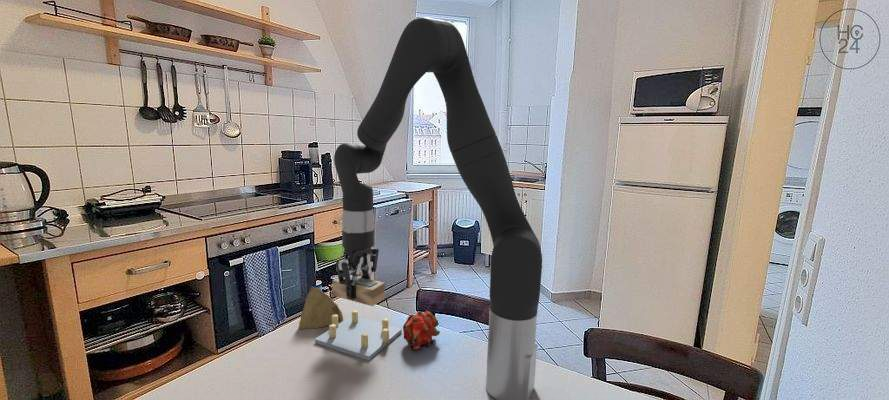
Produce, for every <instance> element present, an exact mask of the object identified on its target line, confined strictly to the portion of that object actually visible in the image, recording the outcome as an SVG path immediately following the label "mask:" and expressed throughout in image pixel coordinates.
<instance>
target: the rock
mask: <svg viewBox="0 0 889 400" xmlns="http://www.w3.org/2000/svg"><path fill="white" fill-rule="evenodd" d="M335 314H337V315H338V324H339V323H341V322H342V321H344V316H343V315H344V314H343V312H342V311H341V309H340V308H339V305H338V304H337V303H336V302H335V301H334V299H332V297H330V295H328V294H326V293H325V292H324V291H322V289H320V288H319V287H317V286H315V287H314V286H311V287H310V289H309V292H308V293H307V296H306V298H305V302H304V305H303V309H302V311H301V314H300V319H299V323H298V327H297V329H298V330H303V329H308V330H309V329H318V328H319V329H320V328H323V327H327V326H328V327H329V325H331V324H332V315H335Z"/></svg>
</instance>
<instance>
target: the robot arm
mask: <svg viewBox="0 0 889 400" xmlns="http://www.w3.org/2000/svg"><path fill="white" fill-rule="evenodd" d="M470 63H471V62H470V60H469V57H468V52H467V49H466V46H465V42H464V40H463V36H462V35H461V33H460V31H459V30H458V28H457V27H456V26H455V25H454V24H453V23H451V22H449V21H447V20H444V19H438V18H431V17H428V16H427V17H425V16H424V17H422V16H421V17H415V18H414V19H412V20H411V21H409V23H407V25H406V26H405V27H404V29H403V31H402V32H401V35H400V37H399V39H398V41H397V44H396V47H395V49H394V52H393V55H392V58H391V60H390V63H389V65H388V68H387V71H386V73H385V76H384V78H383V80H382V83H381V85H380V87H379V91H378V93H377V95H376V97H375V99H374V100H373V103H372V104H371V106H370V107H369V109H368V110H367V112H366V114H365V115H364V117H363V119H362V120H361V122H360V124H359V125H358V128H357V132H356V134H357V135H356V136H357V138H358V140H359V141H360V142H344V143H340V144H339V146H337V148H336V149H335V152H334V155H333V162H334V166H335V170H336V174H337V177H338V179H339V184H340V188H341V191H342V213H341V214H342V216H341V242H342V244H341V245H342V246H341V247H343V249H344V251H345V254H344V258H343V259H342V260H340V261H339V260H336V262H335V269H336V275H337V278H338V279H339V283H340V284H344V285H346V296H347V298H348V299H351V300H354V299H356V285H355V284H356V279H357V277H359V275H360V273H361V276H360V277H361V278H365V279H370V280H371V277H372V276H373V273H376V271H377V268H378V266H377V265H378V261H379V260H378V259H379V251H380V250H379V248H375V247H374V246H375V213H374V190H373V187H372V186H371V185H370V184H368V183H365V182H360V180H359V177H358V175H359V174H369V173H372V172H373V173H374V171H376V170H377V169H378V168H379V167H380V166H381V164H382V163H383V162H382V161H383V159H384V158H383V157H384V156H385V155H384V154H385V152H386V148H387V145H388V142H390V140H391V138H392V137H393V136H394V134H395V132H396V131H397V130H398V128H399V126H400V124H401V123H402V120H403V118H404V115H405V108H406V103H407V99H408V97H409V94H410V93H411V91H412V90H413V88H414V86H415V85H416V84H417V83H418V81H420V79H422V77H423V76H424V75H425V74H427V73H433V75H434V77H435V79H436V82H437V83H438V85H439V88H440V90H441V93H442V96H443V98H444V103H445V109H446V112H445V113H446V140H447V145H448V146H447V147H448V148H449V151H450V153H451V156H452V159H453V161H454V164H455V166H456V168H457V171H458V174H459V175H460V177H461V179H462V181H463V183H464V185H465V186H466V187H467V190H468V191H469V192H470V193H471V195H472V197H473V198H474V199H475V201H476V203H477V204H478V206H479V207H480V210H481V211H482V214H483V217H484V218H485V219H484V220H485V221H486V224H487V227H488V230H489V233H490V234H489V235H490V237H491V241H492V245H493V247H492V251H491V258H490V259H491V260H490V275H489V276H490V279H489V315H488V316H489V318H488V336H487V353H486V355H487V357H486V373H485V374H486V375H485V381H486V382H485V388H486V391H487V393H488V395H489V396H491V397H492V398H493V399H494V400H530V399H531V397H532V393H533V390H535V389H534V388H535V381H536V380H535V378H536V366H537V364H536V363H537V353H538V352H537V350H538V345H537V344H536V336H537V335H536V334H537V324H538V323H537V322H538V321H537V319H538V311H539V310H538V309H539V303H540V294H541V283H542V282H541V281H542V273H543V254H542V248H541V243H540V241H539V239H538V237H537V235H536V234H535V232H534V230H533V229H532V227H531V225H530V223H529V221H528V219H527V217H526V215H525V213H524V211H523V209H522V207H521V206H520V203H519V200H518V197H517V196H516V195H517V194H516V191H515V188H514V183H513V180H512V176H511V172H510V169H509V165H508V162H507V159H506V157H505V154H504V151H503V148H502V146H501V143H500V140H499V138H498V135H497V134H496V130H495V128H494V126H493V124H492V122H491V119H490V117H489V114H488V112H487V109H486V106H485V104H484V101H483V99H482V97H481V93H480V92H479V90H478V87H477V83H476V81H475V80H476V79H475V77H474V73H473V71H472V66H471V64H470ZM350 275H352V280H350ZM344 278H345V279H344ZM351 300H350V301H351Z"/></svg>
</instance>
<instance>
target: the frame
mask: <svg viewBox="0 0 889 400" xmlns="http://www.w3.org/2000/svg"><path fill="white" fill-rule="evenodd" d="M344 279H345V278H344ZM350 280H352V275H350ZM355 285H356V299H354V300H351V299H348V298H347V296H346V285H344V284H340V283H339V279H338V277H337V278H334V279H332V296H333V297H337V298H340V299H345V300H348V301H352V302H355V303H359V304H363V305H365V306H370V307H374V306H375V305H377V304H379V303H380V302H382V301H383V300H384V299H385V298H386V282H382V281H379V280H378V281H377V280H374V279H371V278H370V279H365V278H361V276H357V279H356V284H355Z"/></svg>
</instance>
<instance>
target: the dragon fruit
mask: <svg viewBox="0 0 889 400" xmlns="http://www.w3.org/2000/svg"><path fill="white" fill-rule="evenodd" d="M438 326H439V321H438V319H437V317H436V316H435V315H434V314H433V313H432V312H431V311H428V310H426V311H424V312H422V311H419V310H417V312H416V314H414V315H413V314H410V315H408V317H407V318H406V321H405V323H404V324H403V326H402V331H403V340H405V341H406V343H407V344H408V345H409V347H410V351H413V349H414V350H420V349H422V348H423V345H426V346H427V347H429V346H433V345H434V344H435V343H436V341H437V340H436V339H435V338H434V339H433V337H437V336H439V335H440V333H441V332H440V330H438V329H437V327H438Z"/></svg>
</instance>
